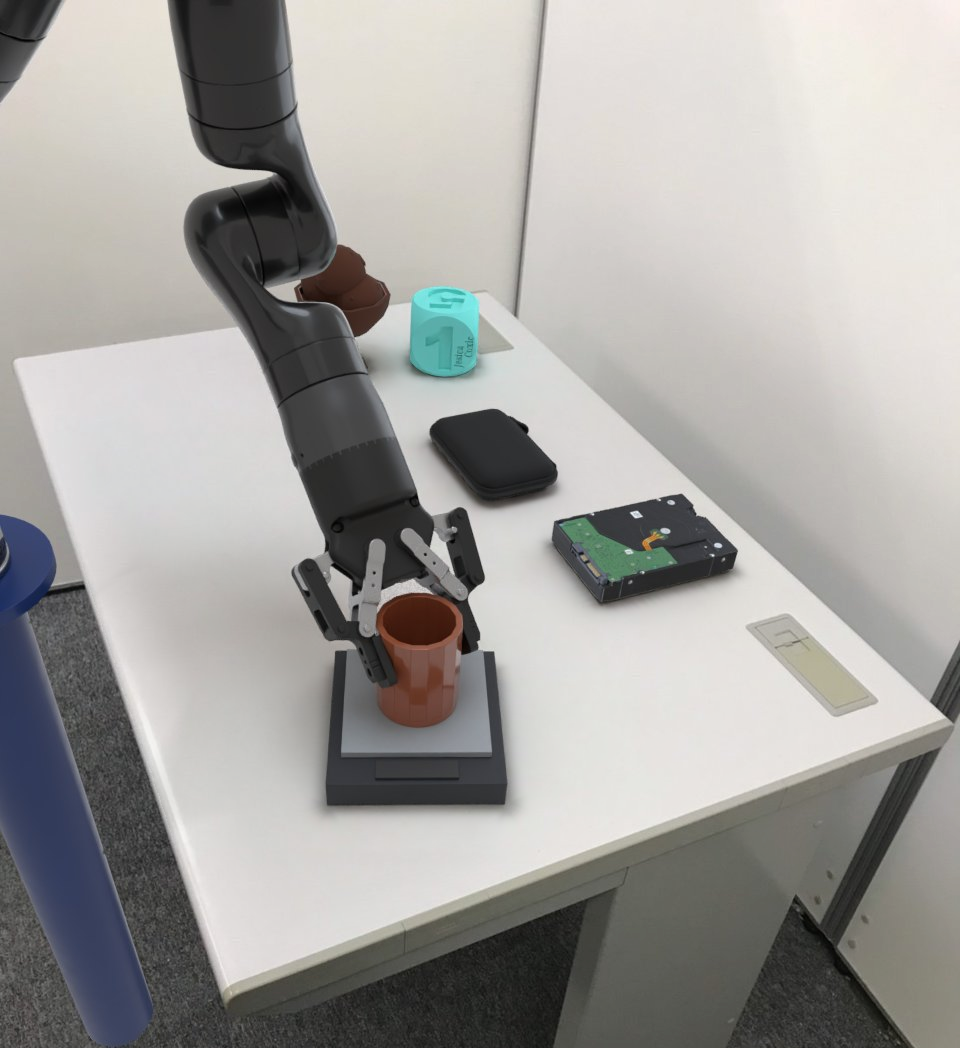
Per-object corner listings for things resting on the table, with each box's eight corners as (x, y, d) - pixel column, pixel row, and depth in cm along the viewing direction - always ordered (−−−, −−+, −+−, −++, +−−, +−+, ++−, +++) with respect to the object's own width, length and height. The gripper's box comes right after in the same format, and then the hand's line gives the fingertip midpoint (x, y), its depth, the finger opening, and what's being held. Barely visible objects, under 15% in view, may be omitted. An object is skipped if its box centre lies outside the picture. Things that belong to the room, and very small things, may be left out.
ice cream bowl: (406, 374, 121) (408, 251, 111) (324, 396, 116) (318, 269, 106) (363, 339, 127) (360, 219, 117) (283, 358, 122) (273, 234, 112)
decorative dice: (409, 375, 121) (410, 312, 116) (411, 345, 127) (412, 283, 122) (475, 378, 121) (479, 316, 116) (474, 348, 127) (478, 287, 122)
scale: (326, 805, 73) (325, 779, 71) (336, 671, 83) (334, 644, 81) (504, 804, 74) (508, 778, 72) (492, 671, 84) (495, 645, 82)
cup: (375, 727, 74) (374, 649, 69) (377, 669, 79) (376, 591, 74) (459, 728, 75) (464, 650, 70) (455, 670, 80) (460, 592, 74)
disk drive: (675, 514, 103) (548, 542, 98) (680, 491, 101) (551, 518, 96) (734, 573, 96) (601, 607, 91) (741, 549, 94) (605, 582, 89)
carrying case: (572, 490, 105) (508, 422, 114) (576, 465, 103) (510, 398, 112) (481, 511, 101) (422, 439, 111) (483, 485, 99) (423, 414, 109)
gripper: (268, 465, 65) (361, 702, 66) (452, 412, 72) (534, 629, 73) (242, 493, 72) (327, 709, 73) (412, 442, 79) (488, 641, 80)
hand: (430, 668), depth 73 cm, fingers closed on cup, 6 cm apart
